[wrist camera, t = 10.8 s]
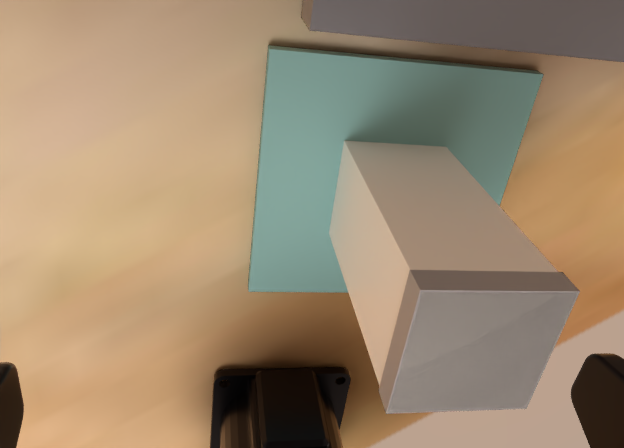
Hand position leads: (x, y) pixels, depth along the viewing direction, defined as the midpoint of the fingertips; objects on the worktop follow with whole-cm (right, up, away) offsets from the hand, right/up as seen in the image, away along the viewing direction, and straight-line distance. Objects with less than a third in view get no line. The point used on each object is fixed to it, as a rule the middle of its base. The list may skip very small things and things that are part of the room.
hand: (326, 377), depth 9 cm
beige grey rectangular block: (+3, +4, +13) cm, 14 cm away
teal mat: (+3, +4, +13) cm, 14 cm away
